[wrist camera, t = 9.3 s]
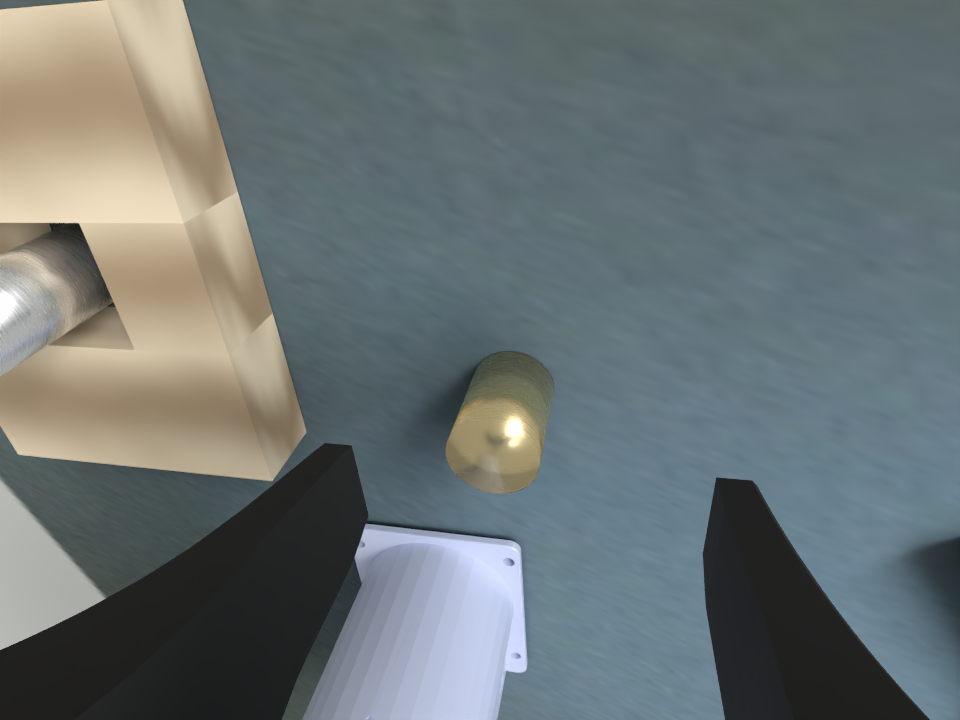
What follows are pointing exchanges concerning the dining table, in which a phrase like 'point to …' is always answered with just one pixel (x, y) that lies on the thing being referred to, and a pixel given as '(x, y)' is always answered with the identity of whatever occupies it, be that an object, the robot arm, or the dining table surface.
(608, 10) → the dining table surface
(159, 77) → the hole block
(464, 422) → the short pin
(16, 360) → the long pin
